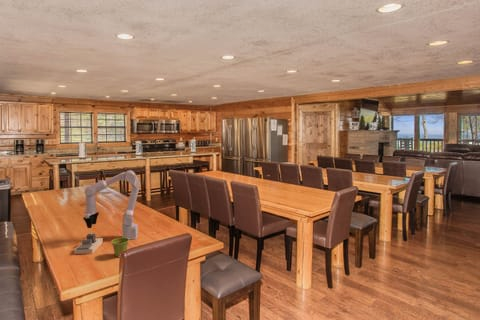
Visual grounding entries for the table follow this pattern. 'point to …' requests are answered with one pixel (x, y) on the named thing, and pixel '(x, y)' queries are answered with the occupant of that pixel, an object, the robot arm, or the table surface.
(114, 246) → the plant pot
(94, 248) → the socket plate
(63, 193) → the table surface
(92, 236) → the plug
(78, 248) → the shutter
